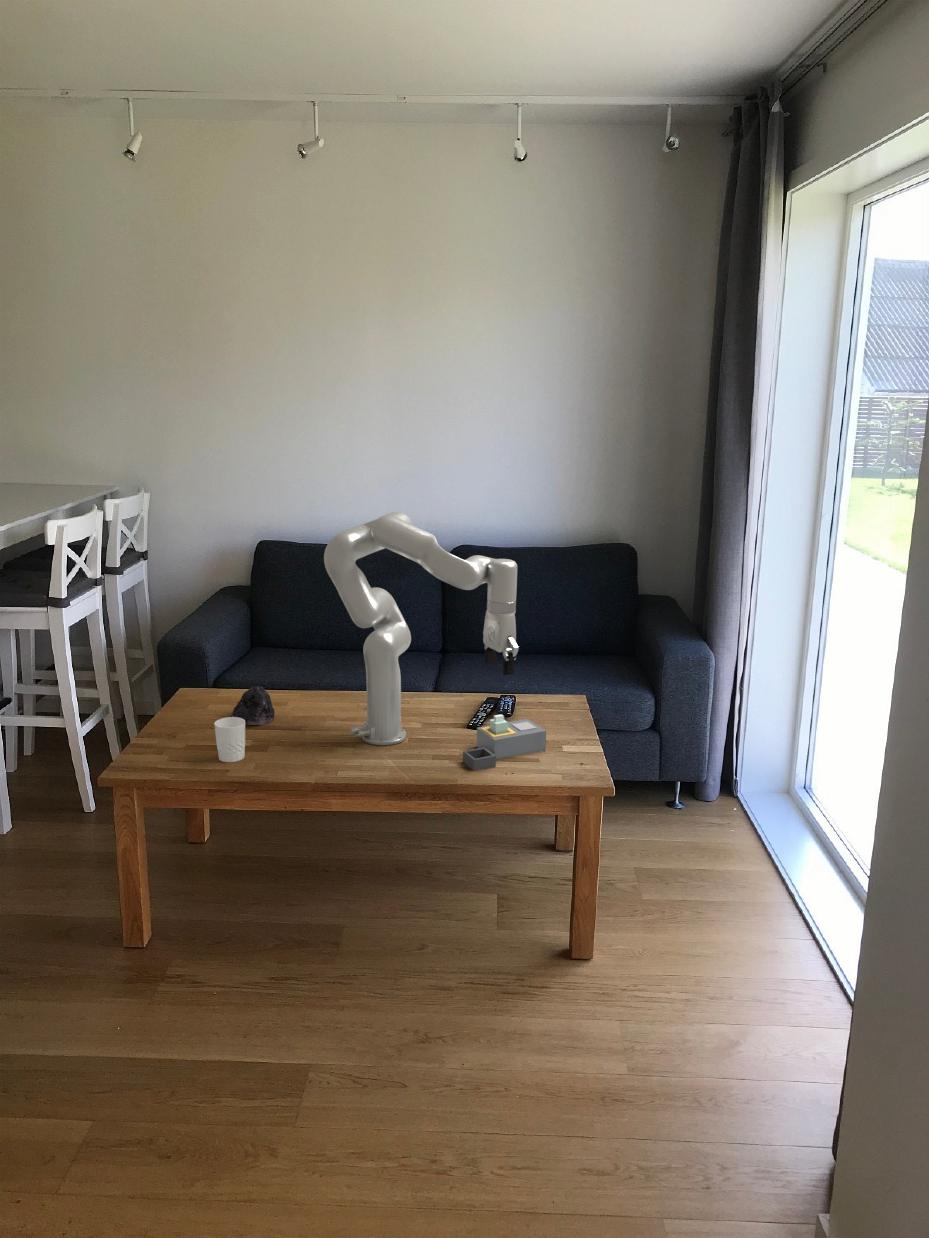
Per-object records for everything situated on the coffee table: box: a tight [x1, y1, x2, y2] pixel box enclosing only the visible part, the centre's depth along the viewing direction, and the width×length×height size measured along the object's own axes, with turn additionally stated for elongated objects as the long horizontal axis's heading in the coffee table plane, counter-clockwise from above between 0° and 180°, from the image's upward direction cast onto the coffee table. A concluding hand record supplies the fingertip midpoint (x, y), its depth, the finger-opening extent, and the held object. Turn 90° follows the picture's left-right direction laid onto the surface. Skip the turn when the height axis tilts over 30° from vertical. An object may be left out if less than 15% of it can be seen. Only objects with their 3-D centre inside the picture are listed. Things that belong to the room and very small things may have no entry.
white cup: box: [213, 716, 246, 763], centre depth 244 cm, size 8×8×10 cm
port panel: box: [476, 718, 547, 760], centre depth 253 cm, size 16×10×6 cm, turn 117°
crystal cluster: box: [231, 686, 275, 726], centre depth 273 cm, size 13×14×10 cm
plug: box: [489, 713, 509, 735], centre depth 250 cm, size 4×4×10 cm
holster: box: [462, 747, 497, 772], centre depth 242 cm, size 6×6×4 cm
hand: (499, 669), depth 246 cm, fingers open, 9 cm apart
